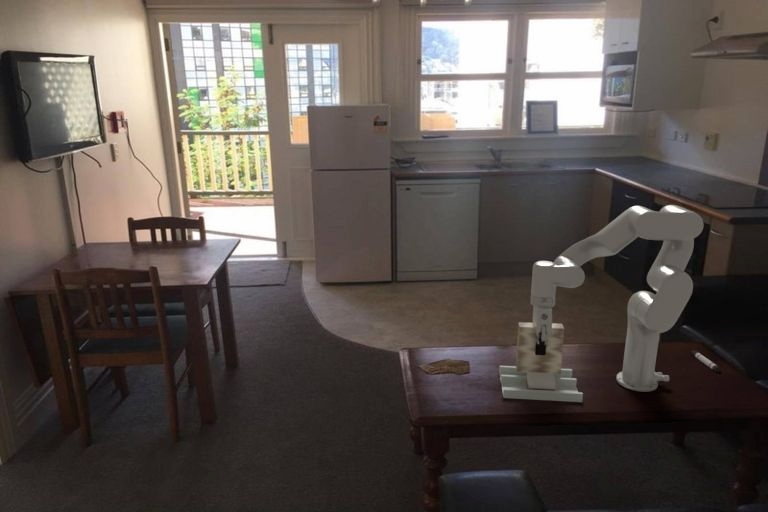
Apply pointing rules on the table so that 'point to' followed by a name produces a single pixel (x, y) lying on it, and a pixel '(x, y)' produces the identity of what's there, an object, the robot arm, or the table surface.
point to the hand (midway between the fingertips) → (539, 351)
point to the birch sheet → (527, 346)
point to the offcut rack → (517, 389)
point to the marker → (706, 361)
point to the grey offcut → (541, 380)
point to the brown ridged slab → (447, 366)
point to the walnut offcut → (537, 388)
